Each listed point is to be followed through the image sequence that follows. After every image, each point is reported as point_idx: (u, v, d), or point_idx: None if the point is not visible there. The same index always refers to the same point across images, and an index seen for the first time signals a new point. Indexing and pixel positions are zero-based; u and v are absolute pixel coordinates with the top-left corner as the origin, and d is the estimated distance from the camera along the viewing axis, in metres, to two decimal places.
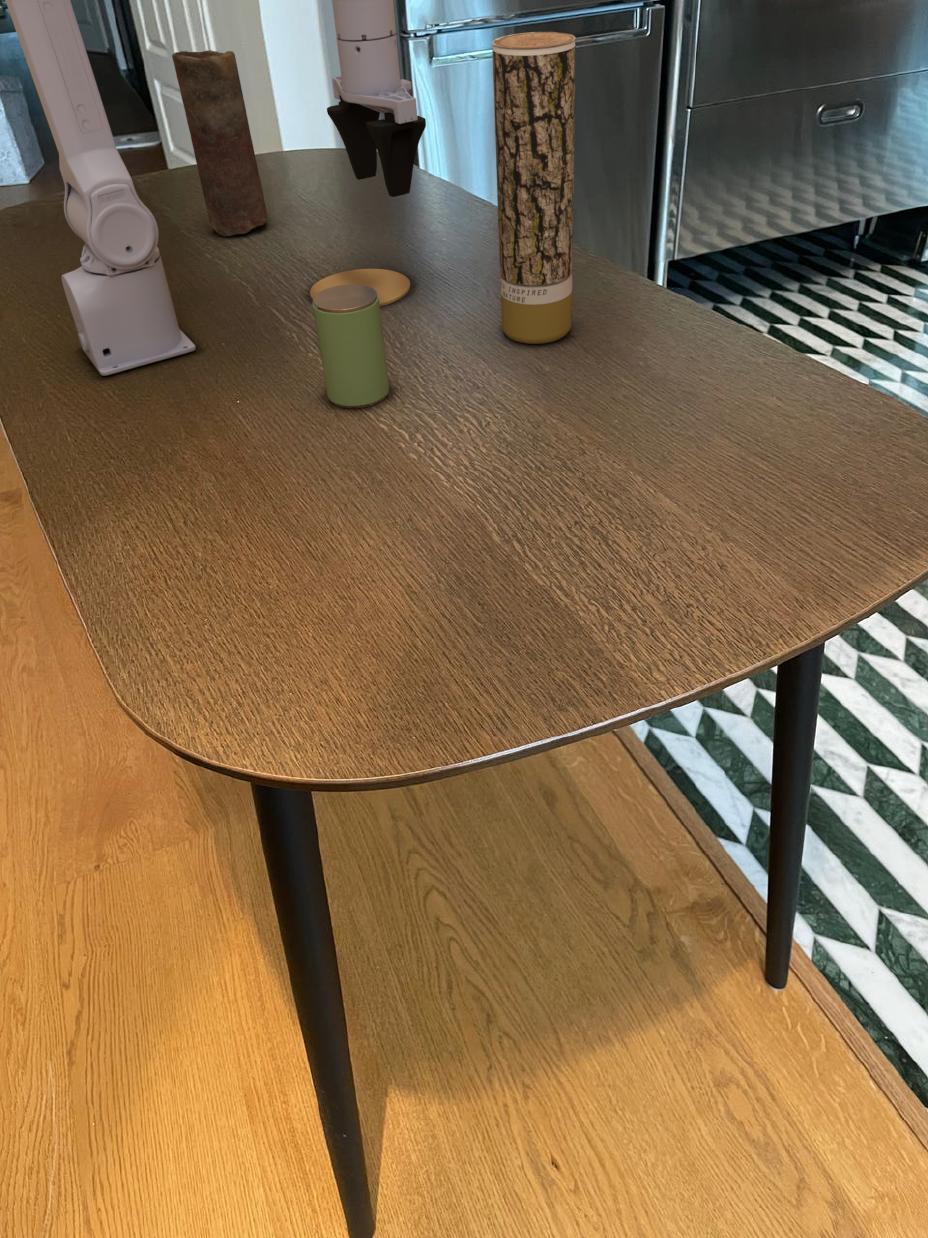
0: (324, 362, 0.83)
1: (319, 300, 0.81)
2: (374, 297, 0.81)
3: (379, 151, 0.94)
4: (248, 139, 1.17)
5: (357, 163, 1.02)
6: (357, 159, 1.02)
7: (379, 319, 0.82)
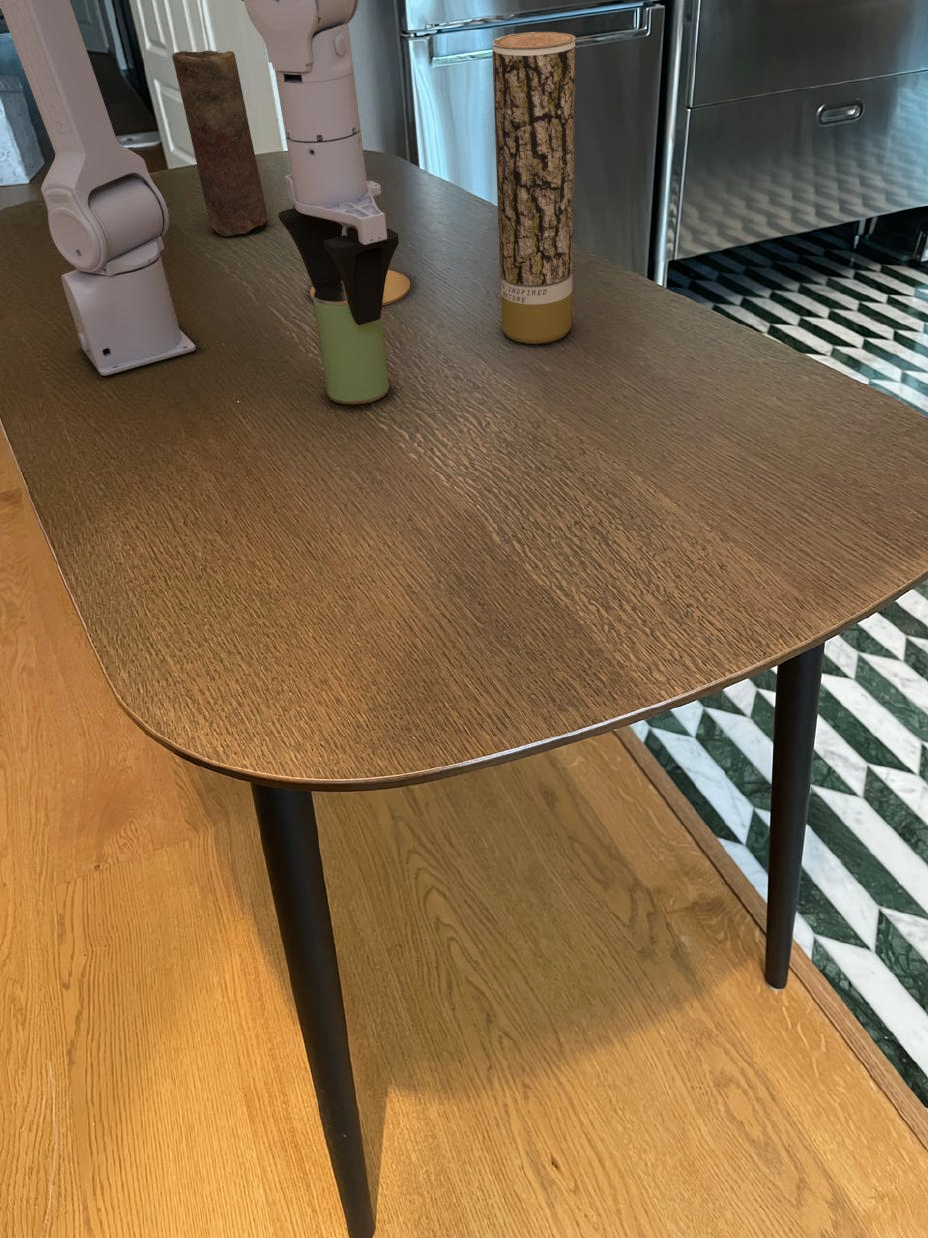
0: (324, 357, 0.84)
1: (320, 294, 0.81)
2: None
3: (341, 273, 0.76)
4: (248, 139, 1.17)
5: (317, 278, 0.83)
6: (317, 273, 0.83)
7: None
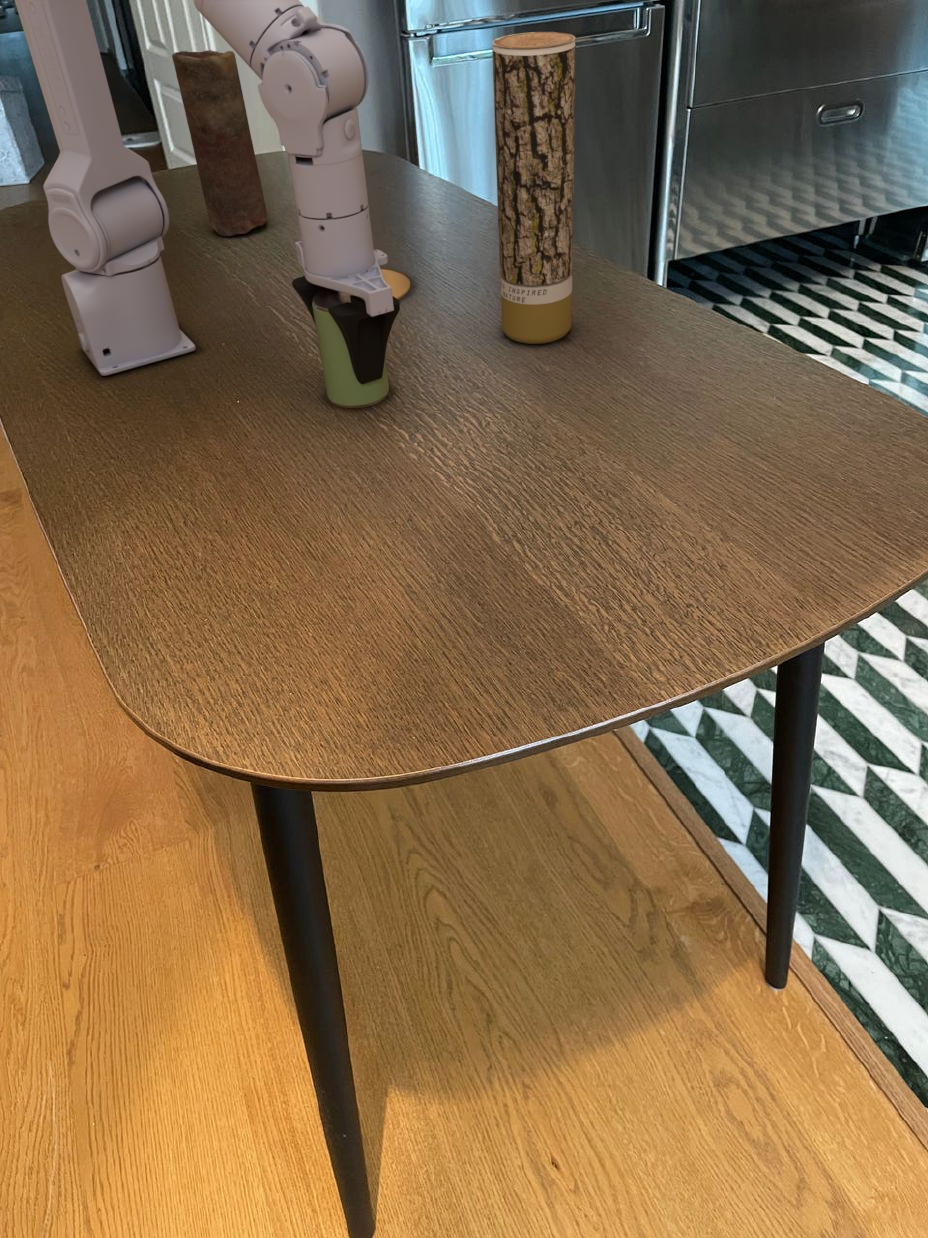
0: (325, 362, 0.83)
1: (319, 300, 0.81)
2: None
3: (345, 337, 0.80)
4: (248, 139, 1.17)
5: None
6: None
7: None
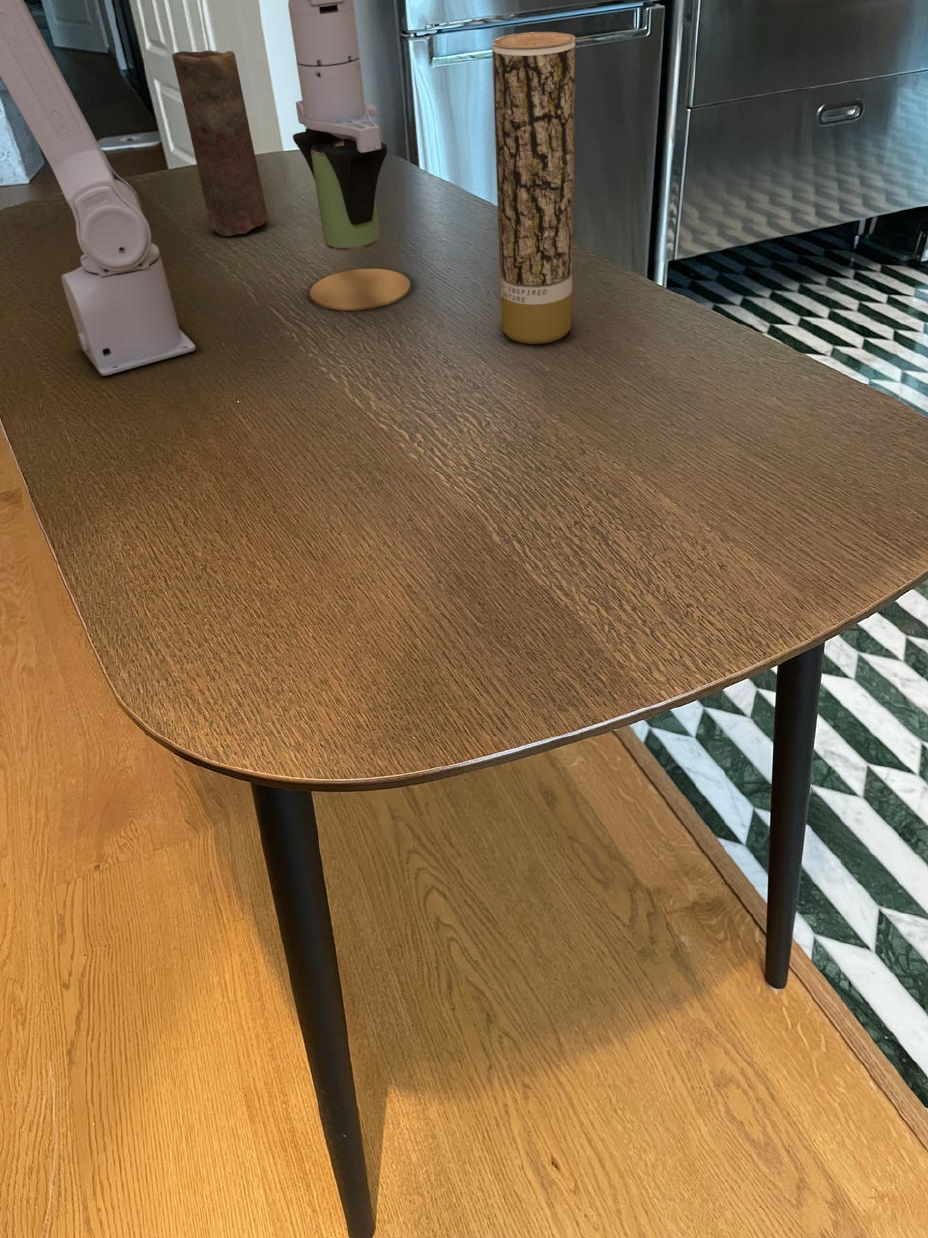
0: (322, 206, 0.94)
1: (317, 148, 0.92)
2: None
3: (339, 178, 0.91)
4: (248, 139, 1.17)
5: None
6: None
7: None
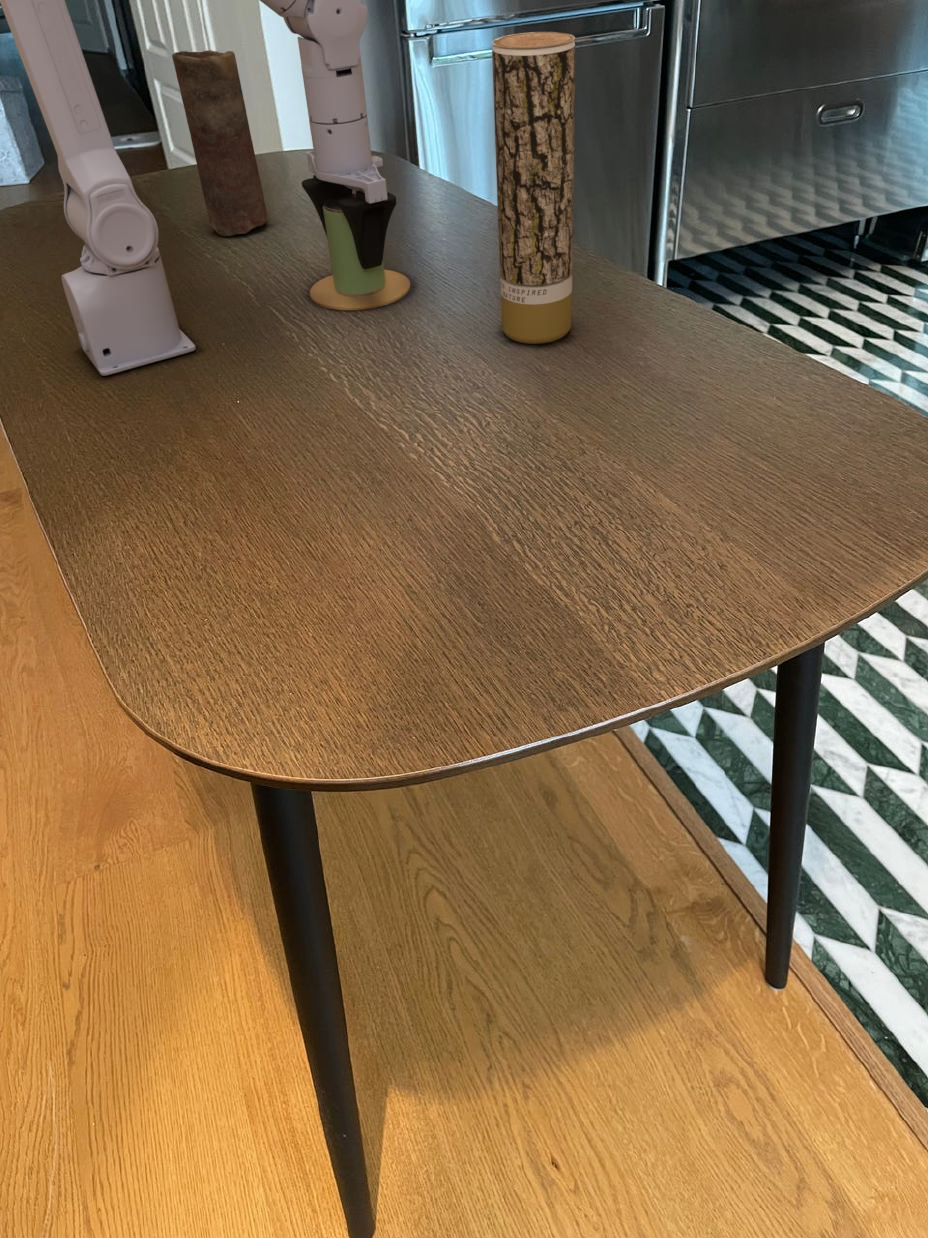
0: (333, 256, 1.02)
1: (328, 204, 1.00)
2: None
3: (351, 227, 0.97)
4: (248, 139, 1.17)
5: None
6: None
7: None
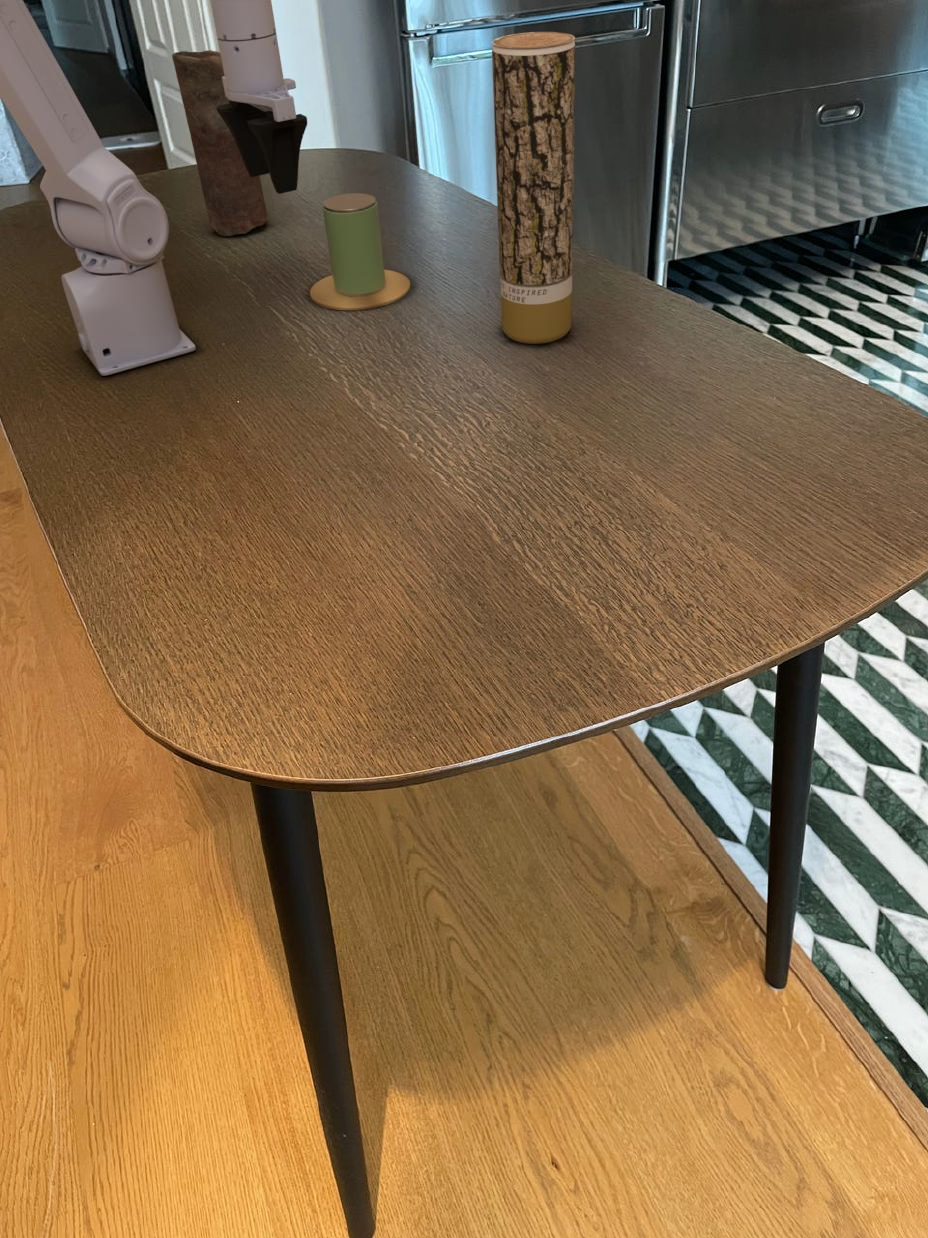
0: (333, 256, 1.02)
1: (328, 204, 1.00)
2: (373, 201, 1.00)
3: (262, 149, 0.96)
4: None
5: (249, 161, 1.04)
6: (249, 157, 1.04)
7: (377, 220, 1.01)
